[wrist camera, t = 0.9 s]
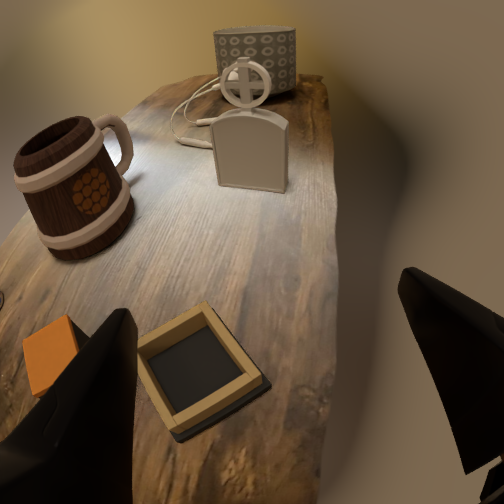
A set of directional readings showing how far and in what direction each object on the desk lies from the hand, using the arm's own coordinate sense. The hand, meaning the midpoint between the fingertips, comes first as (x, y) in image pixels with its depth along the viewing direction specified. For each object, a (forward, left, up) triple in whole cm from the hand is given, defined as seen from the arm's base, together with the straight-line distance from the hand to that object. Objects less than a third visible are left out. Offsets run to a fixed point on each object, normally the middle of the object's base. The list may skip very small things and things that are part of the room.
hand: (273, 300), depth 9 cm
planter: (+69, +6, -17) cm, 72 cm away
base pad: (+2, +7, -17) cm, 18 cm away
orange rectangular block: (-1, +16, -17) cm, 23 cm away
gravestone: (+29, +4, -17) cm, 34 cm away
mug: (+23, +26, -17) cm, 39 cm away
